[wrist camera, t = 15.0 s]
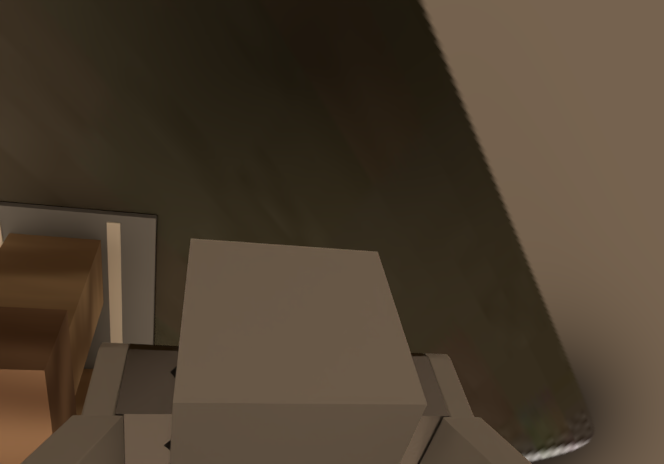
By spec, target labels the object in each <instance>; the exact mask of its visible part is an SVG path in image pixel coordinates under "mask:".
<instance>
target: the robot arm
mask: <svg viewBox="0 0 664 464" xmlns="http://www.w3.org/2000/svg"><path fill="white" fill-rule="evenodd" d="M178 351H179V346H166V345H148V344H131V343H130V344H125V343H106V342H102V344H101V346H100V348H99V349H98V353H97V357H96V361H95V365H94V368H93V372H92V376H91V380H90V384H89V387H88V391H87V395H86V399H85V403H84V406H83V410H82V414H81V415H72V416H71V417H70V418H69V419H68V420H67V421H66V422H65V423H64V424H63V425H62V426H61V427H59V428H58V429H57V430H56V431H55V432H54V433H53V434H52V435H51V436H50V437H49V438H48V439H47V440H45V441H44V442H43V443H42V444H41V445H40V446H39V447H38V448H37V449H36V450H35V451H34V452H33V453H31V454H30V455H29V456H28V457H27V458H26V459H25V460H24V461H23V462H22V463H21V464H170V451H171V431H172V410H173V397H174V388H175V379H176V369H177V360H178ZM411 356H412V359H413V362H414V365H415V368H416V371H417V375H418V378H419V381H420V384H421V387H422V390H423V393H424V396H425V399H426V402H427V406H426V408H425V410H424V413H423V415H422V417H421V419H420V421H419V423H418V425H417V428H416V430H415V432H414V434H413V436H412V438H411V440H410V443H409V445H408V447H407V449H406V451H405V453H404V455H403V458H402V460H401V462H400V464H532V463H530V462H529V461H528V460H527V459H526V458H525V457H524V456H523V455H522V454H520V453H519V452H518V451H517V450H516V449H515V448H514V447H513V446H512V445H510V444H509V443H508V442H507V441H506V440H505V439H504V438H503V437H501V436H500V435H499V434H498V433H497V432H496V431H495V430H494V429H493V428H491V427H490V426H489V425H488V424H487V423H486V422H485V421H484V420H483V419H481V418H478V417H474V416H473V413H472V411H471V408H470V406H469V404H468V401H467V399H466V396H465V394H464V391H463V389H462V386H461V384H460V381H459V379H458V376H457V374H456V371H455V369H454V366H453V364H452V361H451V359H450V357H449V356H448V355H447V354H423V353H411Z"/></svg>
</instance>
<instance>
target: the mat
mask: <svg viewBox="0 0 664 464" xmlns="http://www.w3.org/2000/svg"><path fill="white" fill-rule="evenodd" d="M156 223H157V215H148V214H136V213H125V212H113V211H102V210H90V209H79V208H67V207H56V206H44V205H33V204H21V203H10V202H0V247H1V246H2V244H3V242H4V241H5V239H6V237H7V236H8V234H9V233H13V234H26V235H39V236H52V237H66V238H79V239H92V240H101V255H102V279H103V306H102V310H101V313H100V316H99V319H98V323H97V326H96V329H95V333H94V336H93V339H92V343H91V346H90V349H89V352H88V356H87V359H86V362H85V366H84V369H93V368H94V365H95V361H96V357H97V353H98V349H99V348H100V346H101V344H102V342H106V343H125V344H130V343H131V344H148V345H154V306H155V265H156Z"/></svg>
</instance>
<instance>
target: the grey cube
mask: <svg viewBox="0 0 664 464" xmlns="http://www.w3.org/2000/svg"><path fill="white" fill-rule="evenodd" d="M426 406H427V402H426V399H425V396H424V393H423V390H422V387H421V384H420V381H419V378H418V375H417V371H416V368H415V365H414V362H413V359H412V356H411V353H410V350H409V347H408V344H407V341H406V338H405V334H404V331H403V328H402V325H401V322H400V319H399V316H398V313H397V310H396V307H395V304H394V301H393V298H392V294H391V291H390V288H389V285H388V282H387V279H386V276H385V273H384V270H383V267H382V264H381V261H380V257H379V254H378V252H374V251H360V250H346V249H332V248H318V247H304V246H290V245H276V244H262V243H248V242H234V241H220V240H206V239H192V238H191V241H190V250H189V259H188V268H187V278H186V287H185V296H184V305H183V314H182V324H181V333H180V342H179V351H178V360H177V369H176V379H175V388H174V397H173V410H172V431H171V451H170V464H400V462H401V460H402V458H403V455H404V453H405V451H406V449H407V447H408V445H409V443H410V440H411V438H412V436H413V434H414V432H415V430H416V428H417V425H418V423H419V421H420V419H421V417H422V415H423V413H424V410H425V408H426Z"/></svg>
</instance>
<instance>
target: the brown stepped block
mask: <svg viewBox="0 0 664 464" xmlns="http://www.w3.org/2000/svg"><path fill="white" fill-rule="evenodd" d="M102 306H103V279H102V255H101V240H92V239H79V238H66V237H52V236H39V235H26V234H13V233H9V234H8V236H7V237H6V239H5V241H4V242H3V244H2V246H1V247H0V464H21V463H22V462H23V461H24V460H25V459H26V458H27V457H28V456H29V455H30V454H31V453H33V452H34V451H35V450H36V449H37V448H38V447H39V446H40V445H41V444H42V443H43V442H44V441H45V440H47V439H48V438H49V437H50V436H51V435H52V434H53V433H54V432H55V431H56V430H57V429H58V428H59V427H61V426H62V425H63V424H64V423H65V422H66V421H67V420H68V419H69V418H70V417H71V416H72V415H81V414H82V410H83V406H84V403H85V399H86V395H87V391H88V387H89V384H90V380H91V376H92V372H93V369H84V366H85V362H86V359H87V356H88V352H89V349H90V346H91V343H92V339H93V336H94V333H95V329H96V326H97V323H98V319H99V316H100V313H101V310H102Z"/></svg>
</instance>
